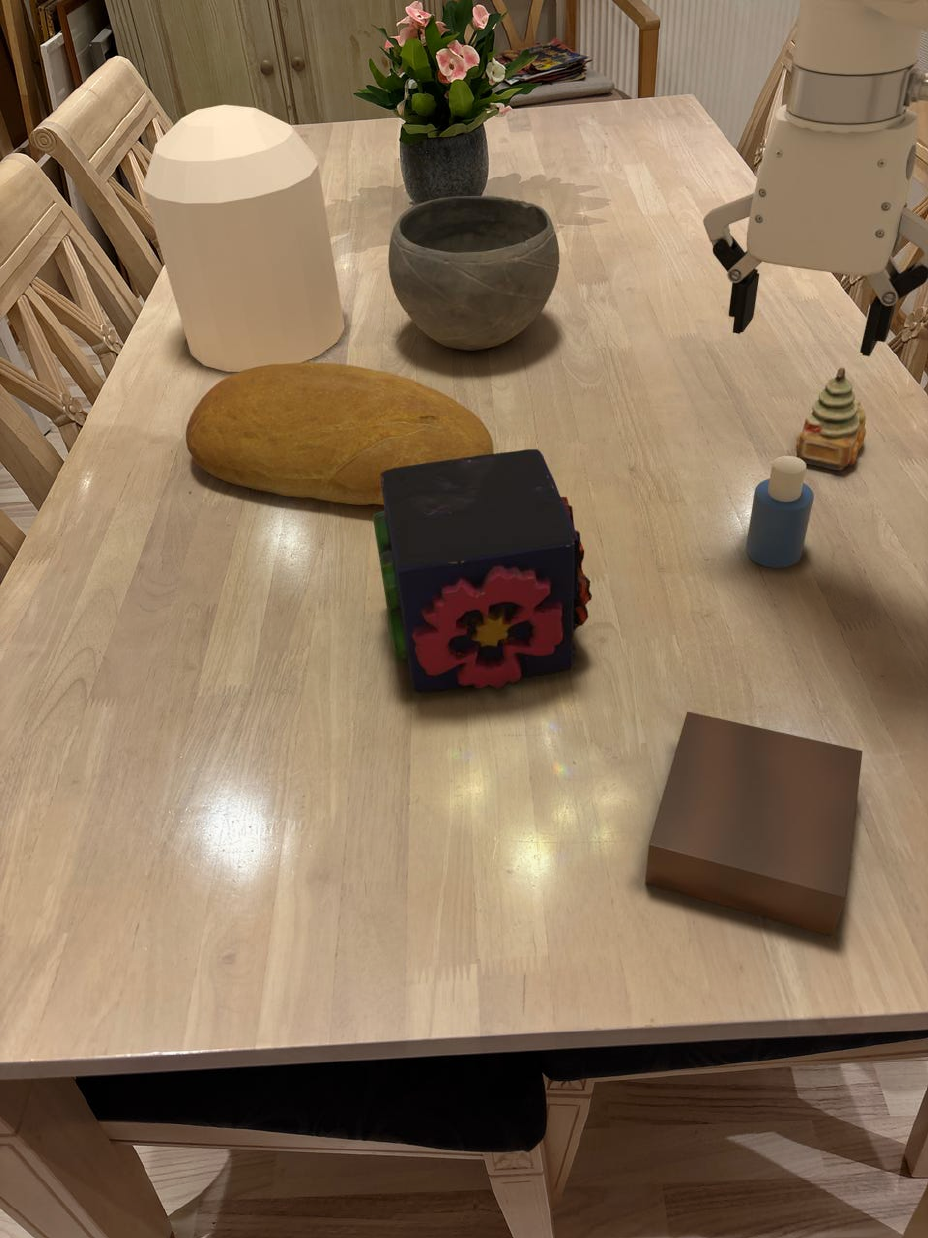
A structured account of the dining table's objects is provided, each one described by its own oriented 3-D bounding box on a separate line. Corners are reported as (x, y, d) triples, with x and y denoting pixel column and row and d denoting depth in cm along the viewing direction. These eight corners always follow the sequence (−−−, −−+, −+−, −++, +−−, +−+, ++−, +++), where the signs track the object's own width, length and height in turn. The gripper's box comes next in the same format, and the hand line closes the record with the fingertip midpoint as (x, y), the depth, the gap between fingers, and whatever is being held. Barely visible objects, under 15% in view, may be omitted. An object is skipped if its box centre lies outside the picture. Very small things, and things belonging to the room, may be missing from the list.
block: (849, 791, 69) (862, 750, 66) (831, 936, 61) (845, 898, 58) (682, 751, 73) (687, 711, 70) (644, 883, 65) (648, 844, 62)
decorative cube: (600, 677, 79) (605, 543, 70) (403, 711, 78) (381, 579, 69) (556, 561, 91) (555, 432, 81) (383, 589, 89) (361, 461, 80)
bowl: (528, 386, 115) (525, 261, 105) (369, 364, 122) (352, 245, 112) (580, 309, 129) (581, 193, 119) (434, 294, 136) (424, 183, 126)
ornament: (805, 427, 104) (822, 341, 98) (865, 437, 102) (886, 350, 96) (790, 466, 99) (806, 378, 93) (852, 478, 97) (874, 388, 90)
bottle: (804, 539, 91) (823, 452, 84) (798, 572, 87) (816, 484, 81) (750, 530, 92) (764, 444, 86) (741, 562, 89) (755, 475, 82)
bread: (466, 535, 95) (459, 448, 88) (162, 485, 105) (135, 403, 98) (522, 437, 107) (519, 353, 100) (245, 400, 117) (226, 322, 111)
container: (301, 381, 120) (252, 138, 101) (157, 362, 126) (85, 131, 107) (371, 307, 134) (339, 83, 115) (238, 294, 140) (187, 79, 122)
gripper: (1001, 85, 62) (933, 334, 74) (736, 69, 69) (711, 299, 81) (982, 119, 57) (912, 380, 69) (700, 98, 64) (679, 338, 76)
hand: (804, 336), depth 75 cm, fingers open, 9 cm apart
